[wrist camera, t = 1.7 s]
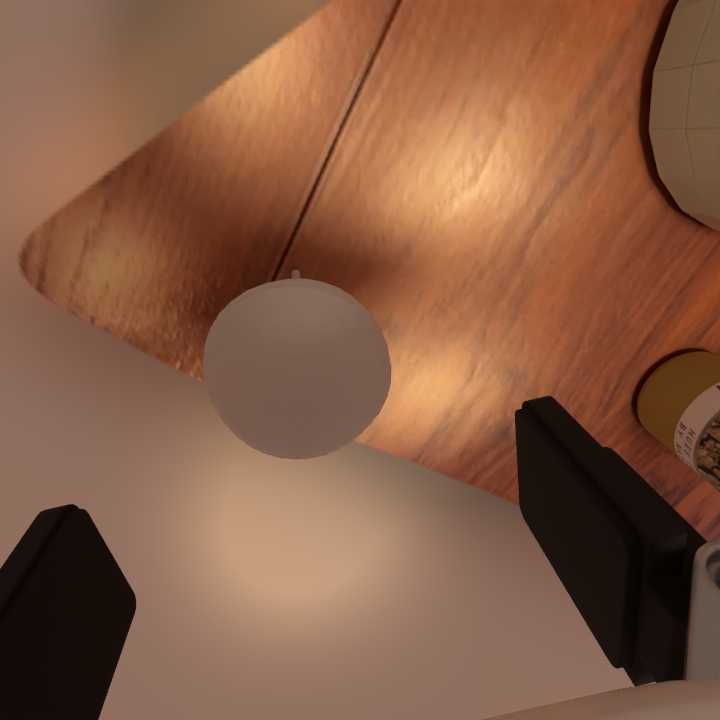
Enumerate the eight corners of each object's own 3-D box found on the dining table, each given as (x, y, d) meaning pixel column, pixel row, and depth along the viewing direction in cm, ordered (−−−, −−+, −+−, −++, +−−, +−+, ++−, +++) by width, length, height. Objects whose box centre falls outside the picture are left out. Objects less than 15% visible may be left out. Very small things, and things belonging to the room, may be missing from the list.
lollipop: (217, 279, 26) (141, 432, 13) (282, 193, 25) (274, 262, 11) (306, 343, 28) (322, 530, 15) (371, 267, 27) (452, 398, 14)
